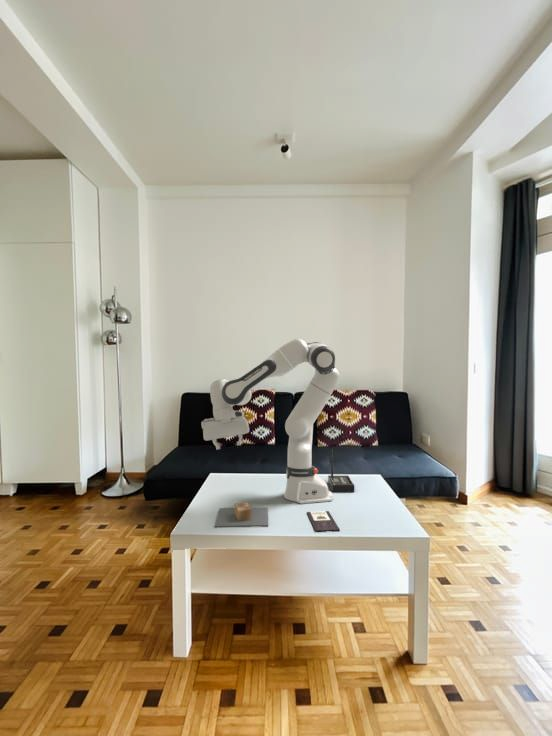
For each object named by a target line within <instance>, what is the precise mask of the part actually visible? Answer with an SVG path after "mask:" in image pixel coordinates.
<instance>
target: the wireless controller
mask: <svg viewBox="0 0 552 736" xmlns="http://www.w3.org/2000/svg"><path fill="white" fill-rule="evenodd" d="M333 453H334V451H333V448H331V459H330V460H331V461H330V475H328V476H327V484H328V485H329V487H331V488H330V489H332V490H331V493H355V484H354V483H353V481H352V480H351V478H350V476H349V475H334V457H333Z"/></svg>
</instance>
